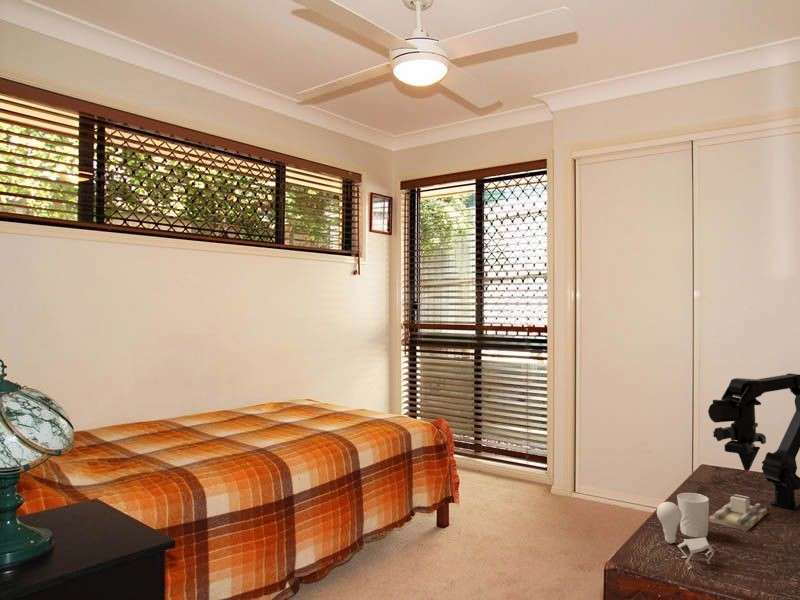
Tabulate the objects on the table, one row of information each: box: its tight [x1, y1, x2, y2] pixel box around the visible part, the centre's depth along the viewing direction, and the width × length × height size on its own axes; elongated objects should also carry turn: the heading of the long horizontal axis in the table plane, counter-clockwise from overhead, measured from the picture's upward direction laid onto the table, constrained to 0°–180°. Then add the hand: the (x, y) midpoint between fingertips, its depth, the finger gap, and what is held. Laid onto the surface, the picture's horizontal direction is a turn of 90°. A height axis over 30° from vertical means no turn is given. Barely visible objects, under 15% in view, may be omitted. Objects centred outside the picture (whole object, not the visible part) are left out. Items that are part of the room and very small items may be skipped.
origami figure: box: [677, 536, 715, 570], centre depth 141 cm, size 12×8×5 cm
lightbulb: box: [656, 501, 682, 544], centre depth 153 cm, size 6×6×11 cm
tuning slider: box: [722, 492, 758, 514], centre depth 170 cm, size 4×9×4 cm, turn 42°
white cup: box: [676, 492, 710, 539], centre depth 159 cm, size 8×8×10 cm
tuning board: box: [708, 501, 768, 532], centre depth 169 cm, size 18×10×2 cm, turn 132°
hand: (746, 470), depth 175 cm, fingers closed
